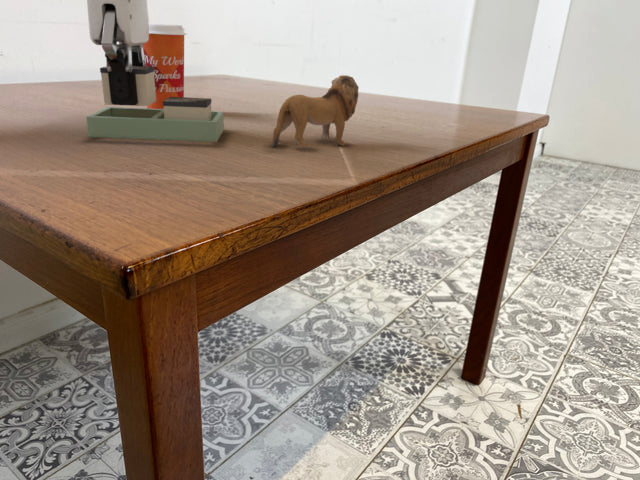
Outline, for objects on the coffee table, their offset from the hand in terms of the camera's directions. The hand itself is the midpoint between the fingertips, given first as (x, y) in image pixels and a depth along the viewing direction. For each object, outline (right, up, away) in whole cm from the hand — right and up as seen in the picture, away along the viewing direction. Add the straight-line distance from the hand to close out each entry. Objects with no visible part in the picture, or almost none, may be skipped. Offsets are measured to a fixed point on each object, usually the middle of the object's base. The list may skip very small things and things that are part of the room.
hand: (130, 100), depth 69 cm
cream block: (0, 0, 0) cm, 0 cm away
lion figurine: (+24, -6, +3) cm, 25 cm away
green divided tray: (+3, -4, +2) cm, 6 cm away
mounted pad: (+7, -4, +2) cm, 8 cm away
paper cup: (-1, +2, +18) cm, 19 cm away
